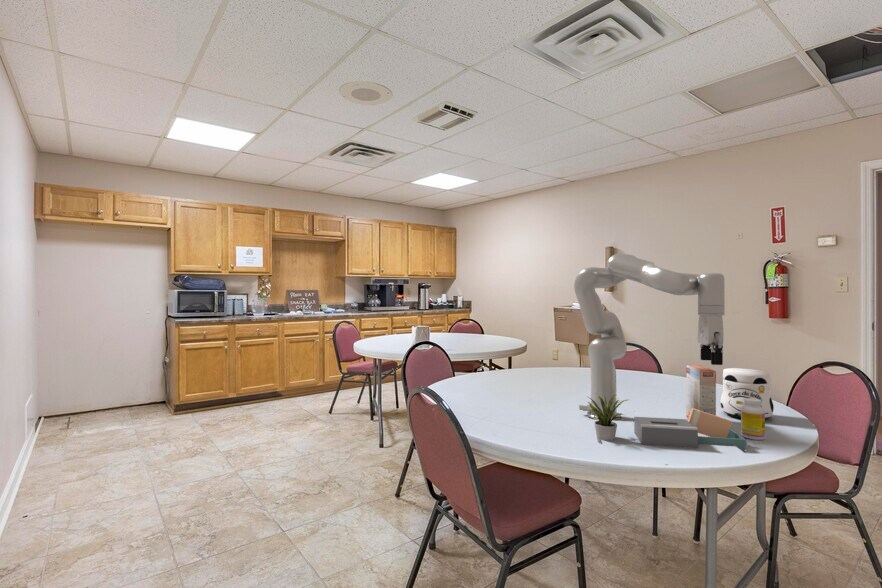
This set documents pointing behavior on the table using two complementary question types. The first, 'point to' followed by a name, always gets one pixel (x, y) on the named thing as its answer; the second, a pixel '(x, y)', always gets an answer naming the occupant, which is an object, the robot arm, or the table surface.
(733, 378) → the milk container
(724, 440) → the tray
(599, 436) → the house plant
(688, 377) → the cracker box
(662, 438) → the dispenser
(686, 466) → the table surface
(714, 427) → the peach slab cream top
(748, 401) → the supplement bottle
